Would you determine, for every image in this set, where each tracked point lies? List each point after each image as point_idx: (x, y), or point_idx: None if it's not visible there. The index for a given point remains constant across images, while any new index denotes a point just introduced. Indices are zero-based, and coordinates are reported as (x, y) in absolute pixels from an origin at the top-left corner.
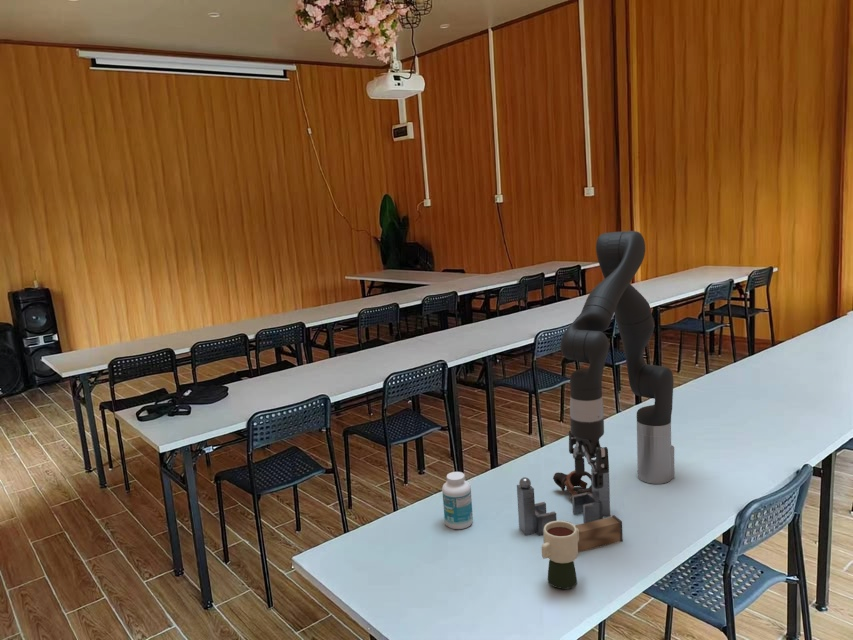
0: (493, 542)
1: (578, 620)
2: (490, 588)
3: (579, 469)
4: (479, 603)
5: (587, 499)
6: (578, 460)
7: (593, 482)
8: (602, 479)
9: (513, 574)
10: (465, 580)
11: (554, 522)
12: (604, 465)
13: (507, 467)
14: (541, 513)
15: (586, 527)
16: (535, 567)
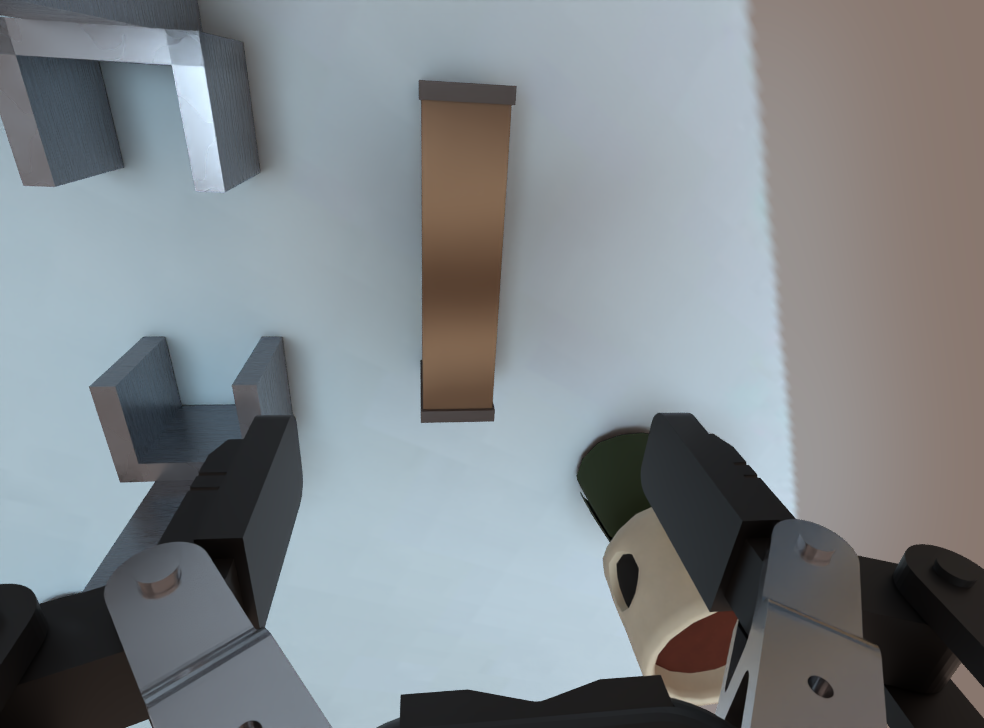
0: (282, 568)
1: (786, 495)
2: (533, 629)
3: (290, 498)
4: (577, 659)
5: (45, 60)
6: (261, 604)
7: (667, 523)
8: (762, 491)
9: (501, 567)
10: (465, 668)
11: (656, 655)
12: (963, 655)
13: None
14: (148, 386)
15: (468, 315)
16: (499, 503)
